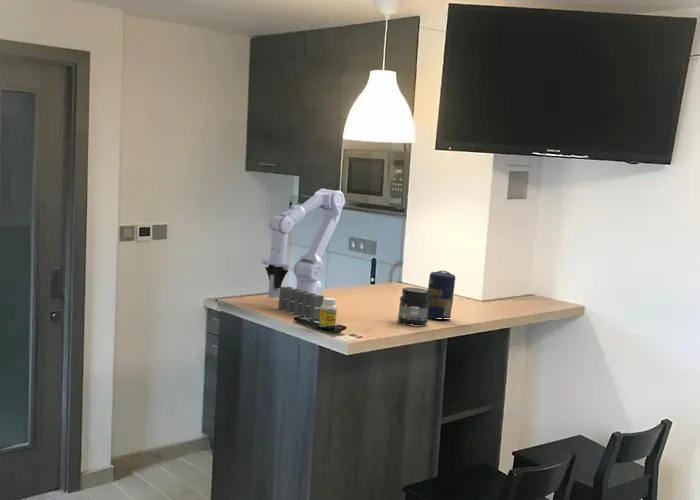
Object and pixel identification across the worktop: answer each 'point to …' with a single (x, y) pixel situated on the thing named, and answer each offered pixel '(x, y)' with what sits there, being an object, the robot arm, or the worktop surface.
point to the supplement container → (414, 306)
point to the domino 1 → (273, 288)
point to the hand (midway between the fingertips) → (275, 287)
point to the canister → (441, 294)
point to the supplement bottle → (328, 312)
